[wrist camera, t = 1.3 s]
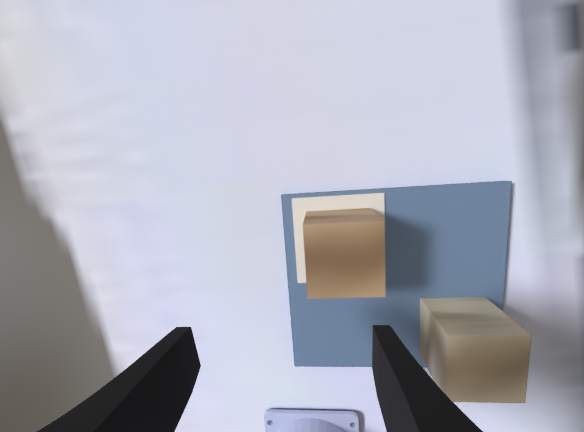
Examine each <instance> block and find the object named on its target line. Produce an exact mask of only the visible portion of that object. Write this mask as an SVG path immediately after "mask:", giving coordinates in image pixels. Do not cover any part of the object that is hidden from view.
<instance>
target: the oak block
mask: <svg viewBox="0 0 584 432" xmlns="http://www.w3.org/2000/svg"><path fill="white" fill-rule="evenodd" d="M303 238H304V253H305V268H306V284H307V299H319V298H368V297H386V296H385V221H384V220H383V219H382V218H381V217H380V216H379V215H377V214H376V213H375V212H374V211H373V210H372V209H371V208H359V209H340V210H322V211H306V214H305V218H304V222H303Z"/></svg>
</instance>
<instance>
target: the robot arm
mask: <svg viewBox="0 0 584 432" xmlns="http://www.w3.org/2000/svg"><path fill="white" fill-rule="evenodd" d="M200 366H201V365H200V361H199V357H198V353H197V349H196V345H195V341H194V337H193V333H192V329H191V327H176V328H175V329H174V330H172V331H171V332H170V333H169V334H167V335H166V336H165V337H164V338H163V339H161V340H160V341H159V342H158V343H157V344H155V345H154V346H153V347H152V348H151V349H150V350H148V351H147V352H146V353H145V354H144V355H142V356H141V357H140V358H139V359H138V360H136V361H135V362H134V363H133V364H132V365H130V366H129V367H128V368H127V369H125V370H124V371H123V372H122V373H120V374H119V375H118V376H116V377H115V378H114V379H113V380H111V381H110V382H109V383H107V384H106V385H105V386H104V387H102V388H101V389H100V390H98V391H97V392H96V393H94V394H93V395H92V396H90V397H89V398H87V399H86V400H85V401H83V402H82V403H81V404H79V405H77V406H76V407H75V408H73V409H72V410H70V411H69V412H67V413H66V414H64V415H63V416H61V417H60V418H58V419H57V420H55V421H53V422H52V423H50V424H49V425H47V426H46V427H44V428H42V429H41V430H39V431H37V432H174V431H175V429H176V427H177V425H178V422H179V420H180V418H181V416H182V414H183V412H184V409H185V407H186V405H187V403H188V400H189V398H190V396H191V394H192V391H193V388H194V385H195V382H196V379H197V376H198V373H199V369H200ZM372 369H373V375H374V381H375V386H376V392H377V397H378V401H379V404H380V408H381V412H382V415H383V419H384V423H385V426H386V430H387V432H483V431H482V430H480V429H479V428H478V427H477V426H476V425H475V424H474V423H473V422H472V421H471V420H470V419H469V418H468V417H467V416H466V415H465V414H464V413H463V412H462V411H461V410H460V409H459V408H458V407H457V406H456V405H455V404H454V403H453V402H452V401H451V400H450V399H449V397H448V396H447V395H446V394H445V393H444V392H443V391H442V390H441V389H440V388H439V387H438V385H437V384H436V383H435V382H434V381H433V380H432V379H431V377H430V376H429V375H428V374H427V373H426V371H425V370H424V369H423V368H422V367H421V365H420V364H419V363H418V362H417V361H416V359H415V358H414V357H413V356H412V354H411V353H410V352H409V350H408V349H407V348H406V346H405V345H404V344H403V342H402V341H401V340H400V338H399V337H398V335H397V334H396V333H395V331H394V330H393V328H392V327H391V326H390V325H373V333H372ZM269 420H271V421H269ZM264 422H265V431H266V432H359V418H358V414H357V413H356V412H354V411H323V410H279V409H269V410H266V411H265V414H264ZM352 422H353V423H352Z"/></svg>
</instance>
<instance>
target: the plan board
mask: <svg viewBox="0 0 584 432" xmlns="http://www.w3.org/2000/svg"><path fill="white" fill-rule="evenodd" d="M511 182H512V181H495V182H479V183H462V184H446V185H430V186H413V187H397V188H381V189H365V190H348V191H332V192H316V193H299V194H283V195H281V199H282V212H283V225H284V238H285V250H286V263H287V276H288V289H289V301H290V314H291V327H292V340H293V352H294V365H295V366H323V367H372V333H373V325H390V326H391V327H392V328H393V330H394V331H395V333H396V334H397V335H398V337H399V338H400V340H401V341H402V342H403V344H404V345H405V346H406V348H407V349H408V350H409V352H410V353H411V354H412V356H413V357H414V358H415V359H416V361H417V362H418V363H419V364H420V365H421V367H427V366H426V364H425V362H424V360H423V358H422V357H421V355H420V353H419V349H420V298H462V297H486V298H487V299H488V300H489V301H490V302H492V303H493V304H494V305H495V306H497V307H498V308H499V309H500V310H502V311H503V297H504V283H505V268H506V254H507V240H508V225H509V211H510V196H511ZM359 208H371V209H372V210H373V211H374V212H375V213H376V214H377V215H379V216H380V217H381V218H382V219H383V220H384V221H385V296H386V297H368V298H319V299H307V284H306V268H305V253H304V238H303V222H304V218H305V214H306V211H322V210H340V209H359Z"/></svg>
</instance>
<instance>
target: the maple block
mask: <svg viewBox="0 0 584 432" xmlns="http://www.w3.org/2000/svg"><path fill="white" fill-rule="evenodd" d="M530 344H531V334H530V333H529V332H528V331H526V330H525V329H524V328H523V327H521V326H520V325H519V324H518V323H517V322H515V321H514V320H513V319H512V318H510V317H509V316H508V315H507V314H505V313H504V312H503V311H502V310H500V309H499V308H498V307H497V306H495V305H494V304H493V303H492V302H490V301H489V300H488V299H487V298H486V297H462V298H420V349H419V353H420V355H421V357H422V358H423V360H424V362H425V364H426V366H427V368H428V370H429V372H430V374H431V375H432V377H433V379H434V381H435V383H436V384H437V385H438V387H439V388H440V389H441V390H442V391H443V392H444V393H445V394H446V395H447V396H448V397H449V399H450V400H451V401H452V402H492V403H525V399H526V388H527V377H528V366H529V355H530Z"/></svg>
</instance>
